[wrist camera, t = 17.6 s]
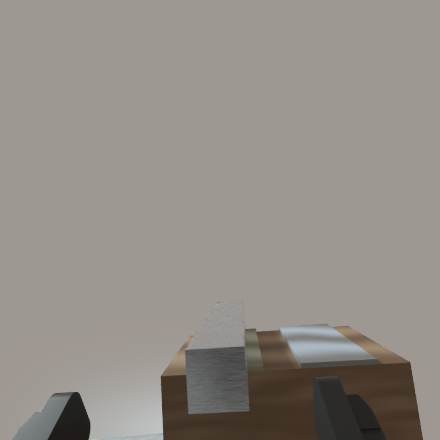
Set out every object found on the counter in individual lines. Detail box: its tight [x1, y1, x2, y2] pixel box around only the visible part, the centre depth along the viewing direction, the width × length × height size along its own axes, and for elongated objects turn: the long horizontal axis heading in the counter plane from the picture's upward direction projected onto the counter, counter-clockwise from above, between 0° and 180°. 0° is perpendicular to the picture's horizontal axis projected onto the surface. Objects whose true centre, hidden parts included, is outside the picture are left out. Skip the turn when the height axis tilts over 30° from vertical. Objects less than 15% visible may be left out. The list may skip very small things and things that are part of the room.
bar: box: [185, 301, 249, 414], centre depth 28 cm, size 22×4×4 cm, turn 176°
